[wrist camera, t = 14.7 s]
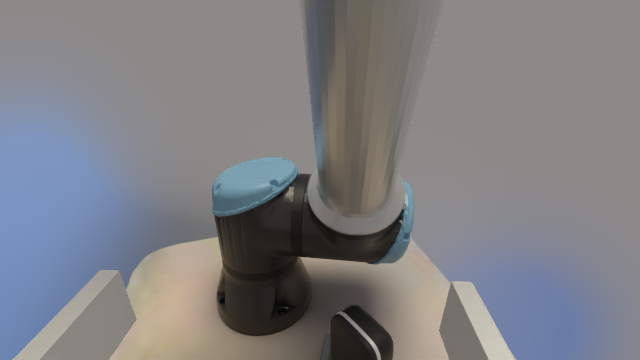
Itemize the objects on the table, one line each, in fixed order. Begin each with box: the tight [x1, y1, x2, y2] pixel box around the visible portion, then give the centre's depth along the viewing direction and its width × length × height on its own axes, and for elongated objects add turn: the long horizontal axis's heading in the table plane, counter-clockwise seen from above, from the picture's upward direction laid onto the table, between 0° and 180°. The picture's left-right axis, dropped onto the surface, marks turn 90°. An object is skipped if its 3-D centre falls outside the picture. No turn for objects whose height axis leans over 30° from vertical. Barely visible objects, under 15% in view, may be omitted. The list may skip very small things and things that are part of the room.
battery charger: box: [330, 305, 393, 360], centre depth 35 cm, size 7×4×11 cm, turn 37°
